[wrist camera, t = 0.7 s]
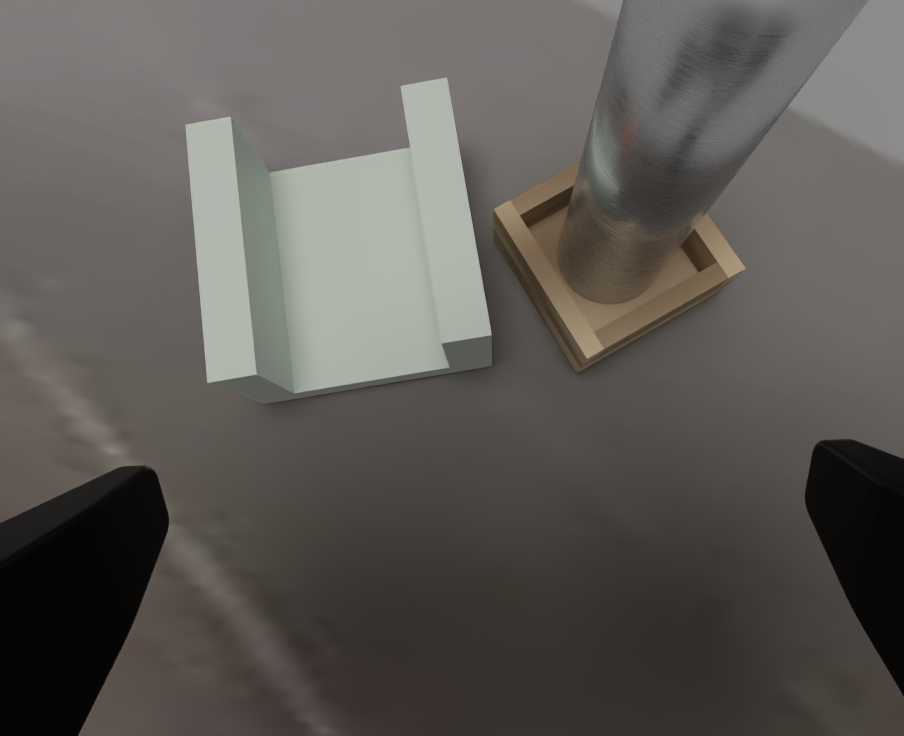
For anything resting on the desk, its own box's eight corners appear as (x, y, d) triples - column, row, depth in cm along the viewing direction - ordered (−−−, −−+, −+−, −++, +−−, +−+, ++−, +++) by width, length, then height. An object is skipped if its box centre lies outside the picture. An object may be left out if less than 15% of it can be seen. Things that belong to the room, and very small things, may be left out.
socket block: (717, 292, 22) (745, 268, 20) (576, 373, 22) (586, 359, 20) (629, 163, 23) (645, 125, 21) (493, 239, 23) (493, 209, 21)
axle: (680, 272, 21) (955, -48, 9) (591, 323, 21) (738, 72, 9) (624, 190, 22) (804, -220, 9) (538, 238, 22) (601, -111, 9)
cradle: (491, 365, 22) (492, 335, 18) (263, 404, 23) (207, 382, 18) (455, 154, 24) (446, 77, 19) (241, 192, 24) (185, 124, 20)
